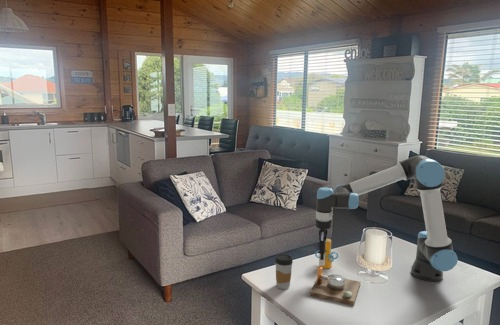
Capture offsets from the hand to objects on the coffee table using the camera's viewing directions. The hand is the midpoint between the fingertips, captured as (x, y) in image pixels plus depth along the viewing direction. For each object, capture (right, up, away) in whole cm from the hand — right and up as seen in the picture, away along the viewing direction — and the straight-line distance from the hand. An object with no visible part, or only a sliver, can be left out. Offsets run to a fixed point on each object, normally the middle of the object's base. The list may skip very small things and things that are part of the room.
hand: (321, 264), depth 192 cm
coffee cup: (-20, -9, -5) cm, 22 cm away
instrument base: (+5, -10, -8) cm, 14 cm away
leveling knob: (+3, -8, -7) cm, 11 cm away
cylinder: (+5, -6, +18) cm, 19 cm away
